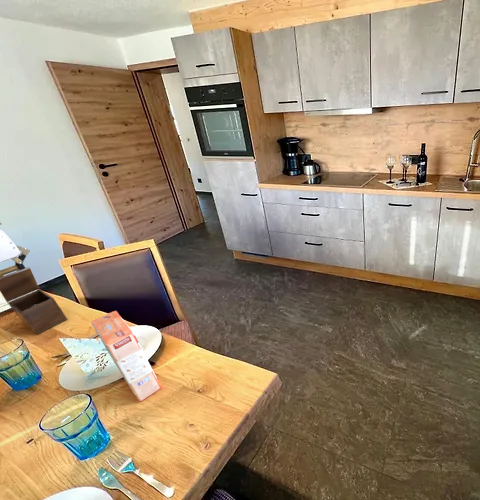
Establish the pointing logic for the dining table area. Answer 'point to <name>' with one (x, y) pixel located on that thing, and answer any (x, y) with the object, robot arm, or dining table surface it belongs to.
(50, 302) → the chest
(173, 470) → the dining table surface
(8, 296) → the lid
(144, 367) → the cracker box
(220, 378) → the dining table surface
